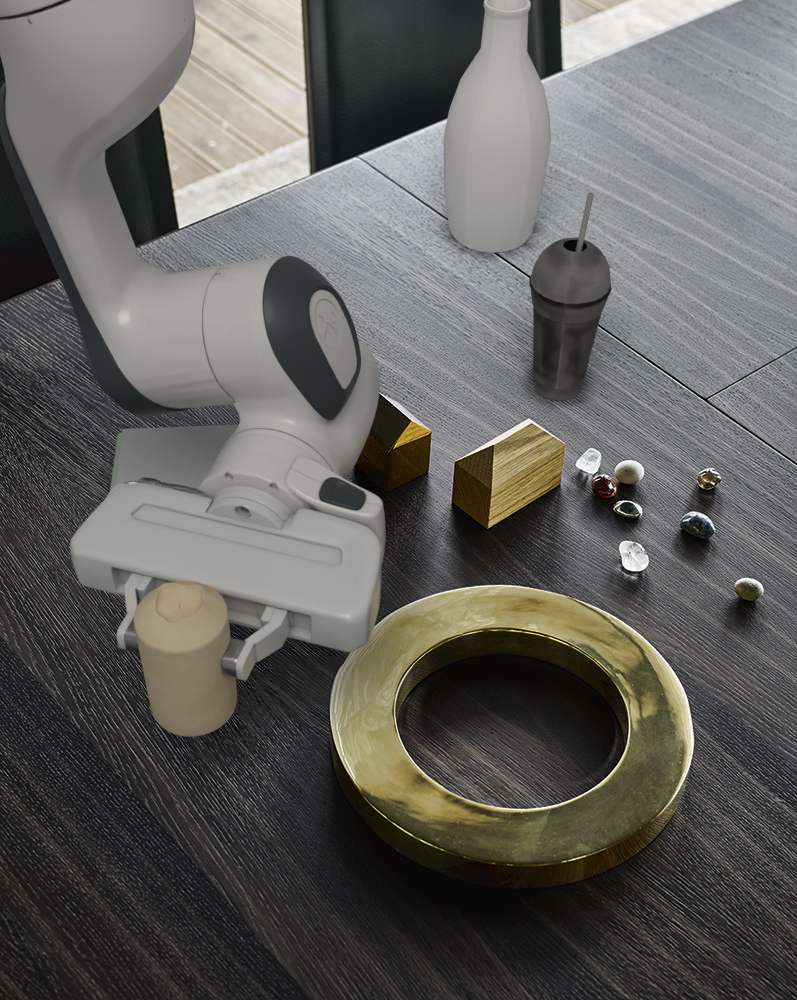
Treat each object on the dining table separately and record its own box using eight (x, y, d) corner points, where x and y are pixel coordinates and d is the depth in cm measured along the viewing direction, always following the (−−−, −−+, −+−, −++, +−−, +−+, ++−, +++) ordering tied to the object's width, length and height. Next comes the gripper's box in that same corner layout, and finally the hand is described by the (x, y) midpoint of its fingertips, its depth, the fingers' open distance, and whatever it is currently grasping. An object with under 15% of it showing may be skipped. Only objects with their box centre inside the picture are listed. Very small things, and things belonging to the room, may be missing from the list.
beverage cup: (502, 383, 119) (519, 195, 105) (555, 352, 122) (578, 167, 108) (558, 420, 115) (584, 231, 101) (611, 388, 118) (643, 200, 104)
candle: (134, 697, 80) (112, 593, 73) (206, 654, 83) (191, 550, 76) (181, 753, 77) (163, 650, 70) (254, 707, 80) (244, 603, 73)
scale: (109, 560, 102) (101, 526, 99) (122, 458, 110) (115, 424, 108) (257, 554, 102) (254, 520, 100) (259, 453, 111) (256, 419, 108)
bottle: (538, 206, 142) (561, -21, 124) (544, 261, 134) (570, 27, 116) (439, 204, 142) (448, -23, 124) (439, 259, 134) (449, 24, 116)
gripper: (117, 439, 85) (15, 584, 75) (406, 504, 81) (338, 666, 72) (129, 506, 89) (34, 650, 80) (404, 570, 85) (339, 731, 76)
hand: (180, 658), depth 76 cm, fingers closed on candle, 5 cm apart
